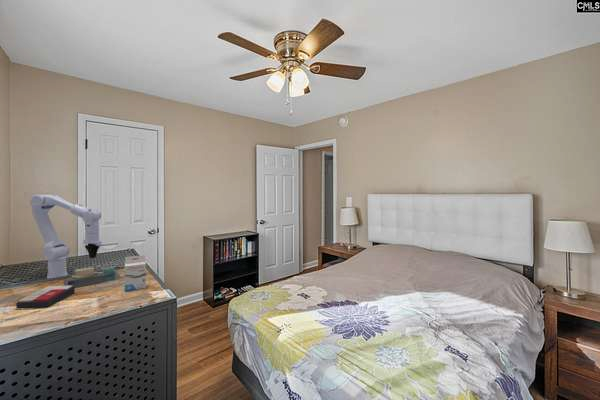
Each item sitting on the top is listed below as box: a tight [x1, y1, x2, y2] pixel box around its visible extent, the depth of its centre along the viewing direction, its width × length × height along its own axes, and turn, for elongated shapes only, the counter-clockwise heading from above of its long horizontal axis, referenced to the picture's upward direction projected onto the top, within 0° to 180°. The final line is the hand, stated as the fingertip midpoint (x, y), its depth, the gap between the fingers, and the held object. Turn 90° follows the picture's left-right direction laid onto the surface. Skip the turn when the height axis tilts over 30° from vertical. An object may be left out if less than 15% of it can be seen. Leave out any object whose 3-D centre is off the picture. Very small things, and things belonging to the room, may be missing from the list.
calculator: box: [15, 285, 76, 309], centre depth 109 cm, size 11×4×15 cm
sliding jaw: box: [71, 266, 116, 279], centre depth 137 cm, size 3×18×4 cm, turn 134°
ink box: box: [124, 254, 147, 292], centre depth 123 cm, size 8×5×15 cm, turn 123°
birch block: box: [74, 266, 95, 278], centre depth 131 cm, size 4×7×6 cm, turn 134°
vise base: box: [63, 270, 123, 289], centre depth 134 cm, size 19×22×4 cm
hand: (92, 257), depth 142 cm, fingers closed
